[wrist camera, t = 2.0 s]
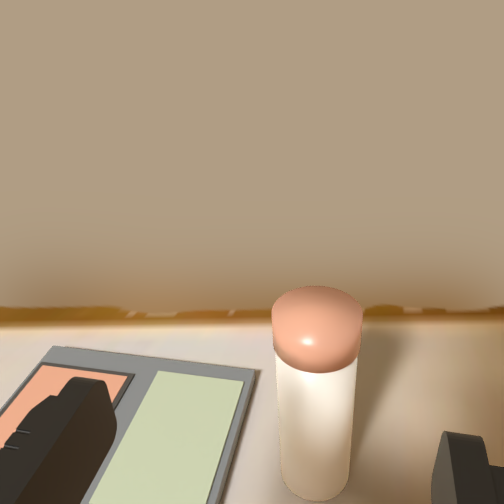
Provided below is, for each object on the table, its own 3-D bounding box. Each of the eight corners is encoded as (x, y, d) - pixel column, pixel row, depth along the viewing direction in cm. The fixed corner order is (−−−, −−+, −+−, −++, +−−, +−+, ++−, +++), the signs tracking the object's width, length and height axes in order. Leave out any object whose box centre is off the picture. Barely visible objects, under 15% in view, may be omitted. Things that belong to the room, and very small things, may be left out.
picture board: (255, 378, 38) (254, 368, 37) (201, 565, 26) (198, 553, 26) (56, 354, 42) (52, 343, 41) (-67, 506, 30) (-75, 495, 30)
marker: (351, 444, 32) (363, 289, 26) (348, 509, 29) (361, 347, 22) (285, 434, 33) (279, 282, 27) (273, 495, 30) (263, 337, 23)
